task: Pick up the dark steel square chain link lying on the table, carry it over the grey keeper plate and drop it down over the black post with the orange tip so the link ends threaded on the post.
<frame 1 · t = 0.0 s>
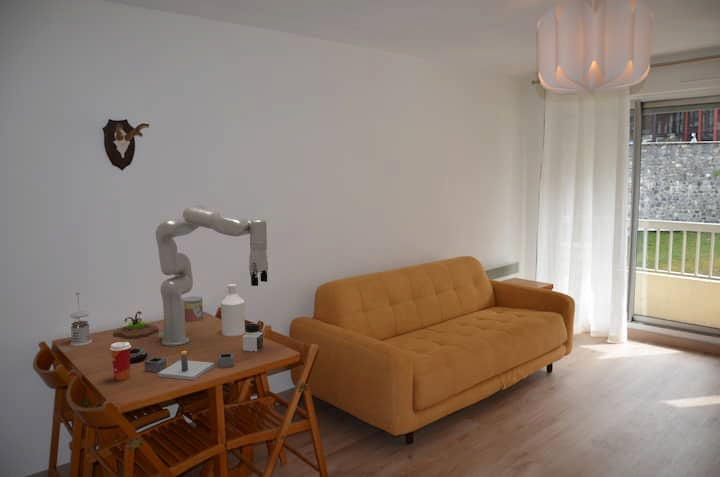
hand: (259, 283, 248), 31 cm above the table, tool pointing down, fingers open, 9 cm apart
keeper: (184, 374, 221), on the table
canned food: (192, 320, 303), on the table
paper cup: (122, 378, 217), on the table
medicine bottle: (253, 349, 253), on the table
bottle: (233, 333, 278), on the table
link: (155, 369, 227), on the table
french press: (80, 342, 263), on the table
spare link: (226, 364, 232), on the table
black ashtray: (133, 360, 239), on the table
plant: (137, 333, 278), on the table
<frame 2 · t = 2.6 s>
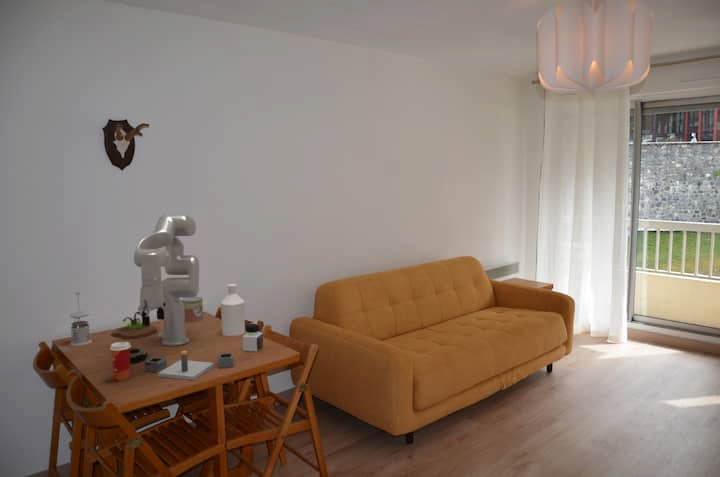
hand: (153, 322, 224), 20 cm above the table, tool pointing down, fingers open, 9 cm apart
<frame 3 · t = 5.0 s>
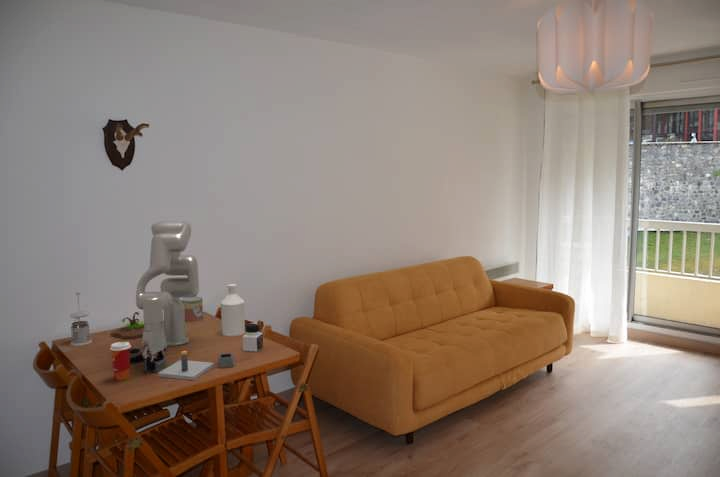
hand: (155, 367, 227), 1 cm above the table, tool pointing down, fingers closed on link, 6 cm apart
link: (155, 369, 227), on the table, touching gripper
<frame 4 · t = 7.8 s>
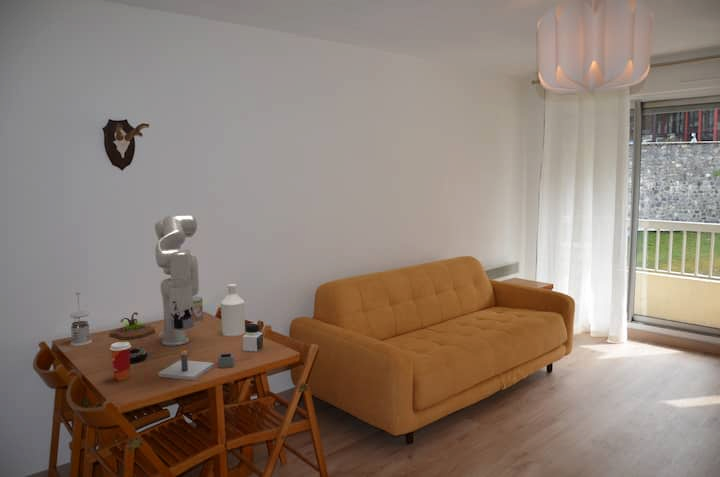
hand: (182, 325, 218), 20 cm above the table, tool pointing down, fingers closed on link, 6 cm apart
link: (183, 328, 219), point 19 cm above the table, touching gripper
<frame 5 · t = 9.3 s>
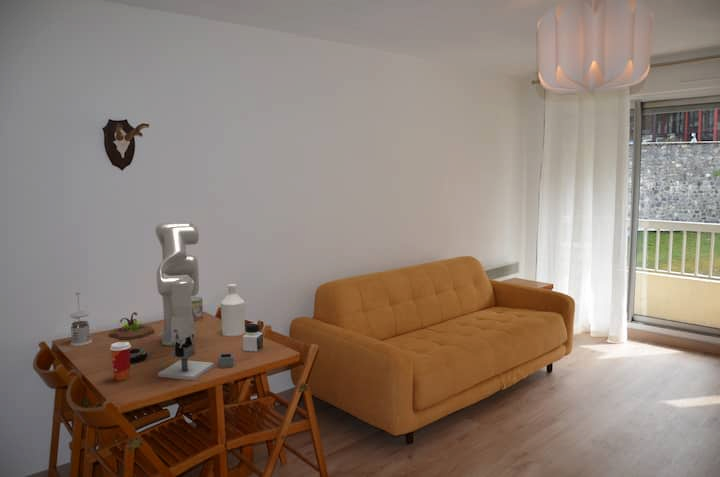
hand: (184, 353, 220), 9 cm above the table, tool pointing down, fingers closed on link, 6 cm apart
link: (184, 355, 220), point 8 cm above the table, touching gripper
when the fingers open (4 cm above the table, at t = 10.7 s): link drops 2 cm, resting on keeper.
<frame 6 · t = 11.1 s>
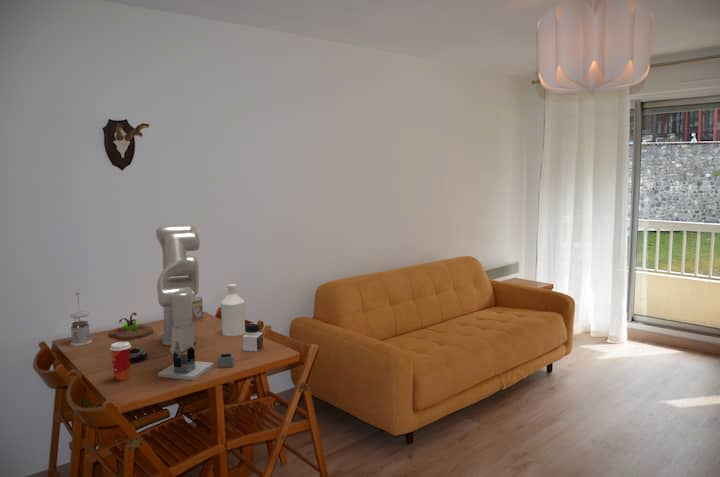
hand: (184, 362, 221), 5 cm above the table, tool pointing down, fingers open, 9 cm apart
link: (184, 370, 221), point 1 cm above the table, touching keeper
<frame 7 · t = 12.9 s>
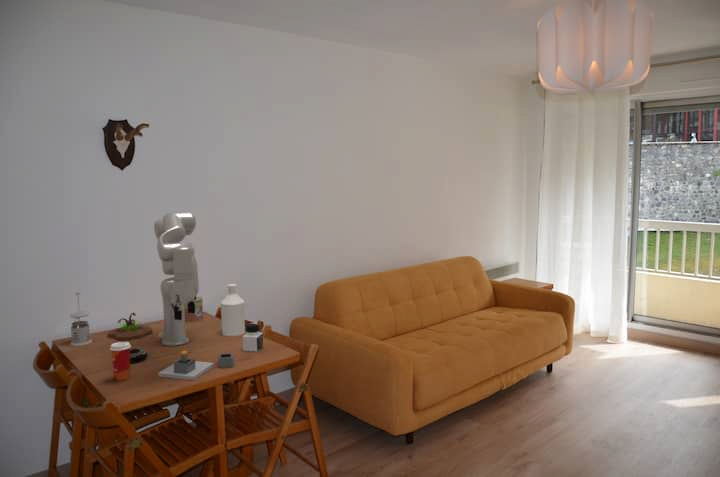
hand: (185, 316, 225), 22 cm above the table, tool pointing down, fingers open, 9 cm apart
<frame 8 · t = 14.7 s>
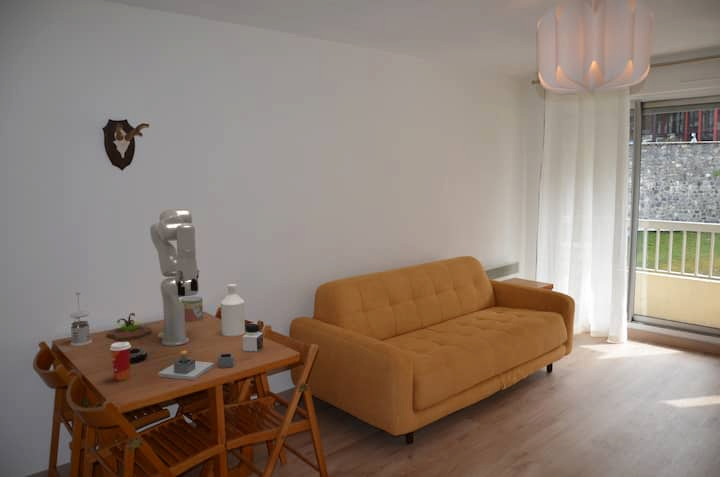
hand: (188, 293, 232), 30 cm above the table, tool pointing down, fingers open, 9 cm apart
at the end: link 0.1 cm off-centre on the keeper, point 1.5 cm above the keeper's base; the gripper is holding nothing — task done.
